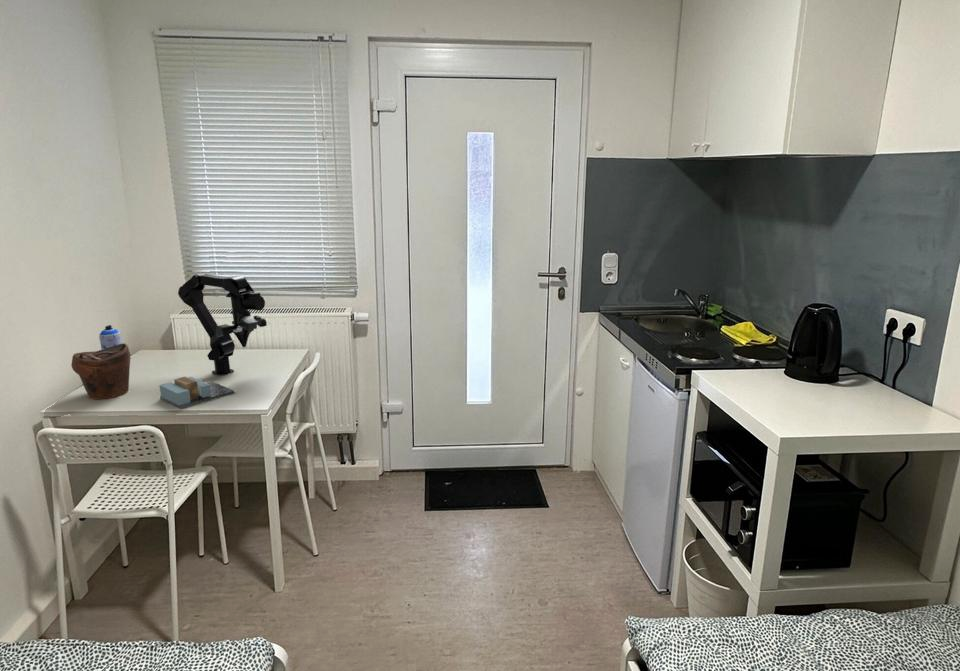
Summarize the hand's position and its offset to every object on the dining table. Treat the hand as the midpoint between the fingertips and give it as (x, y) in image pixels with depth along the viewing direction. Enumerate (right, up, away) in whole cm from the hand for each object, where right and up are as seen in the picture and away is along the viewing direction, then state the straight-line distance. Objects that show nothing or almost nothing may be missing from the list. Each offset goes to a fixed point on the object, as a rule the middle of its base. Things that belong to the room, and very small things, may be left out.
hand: (244, 346), depth 249 cm
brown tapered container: (-45, -17, -16) cm, 51 cm away
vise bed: (-10, -18, -19) cm, 28 cm away
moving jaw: (-10, -16, -19) cm, 27 cm away
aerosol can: (-56, -11, +8) cm, 57 cm away
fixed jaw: (-15, -18, -25) cm, 34 cm away
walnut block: (-12, -17, -22) cm, 31 cm away
